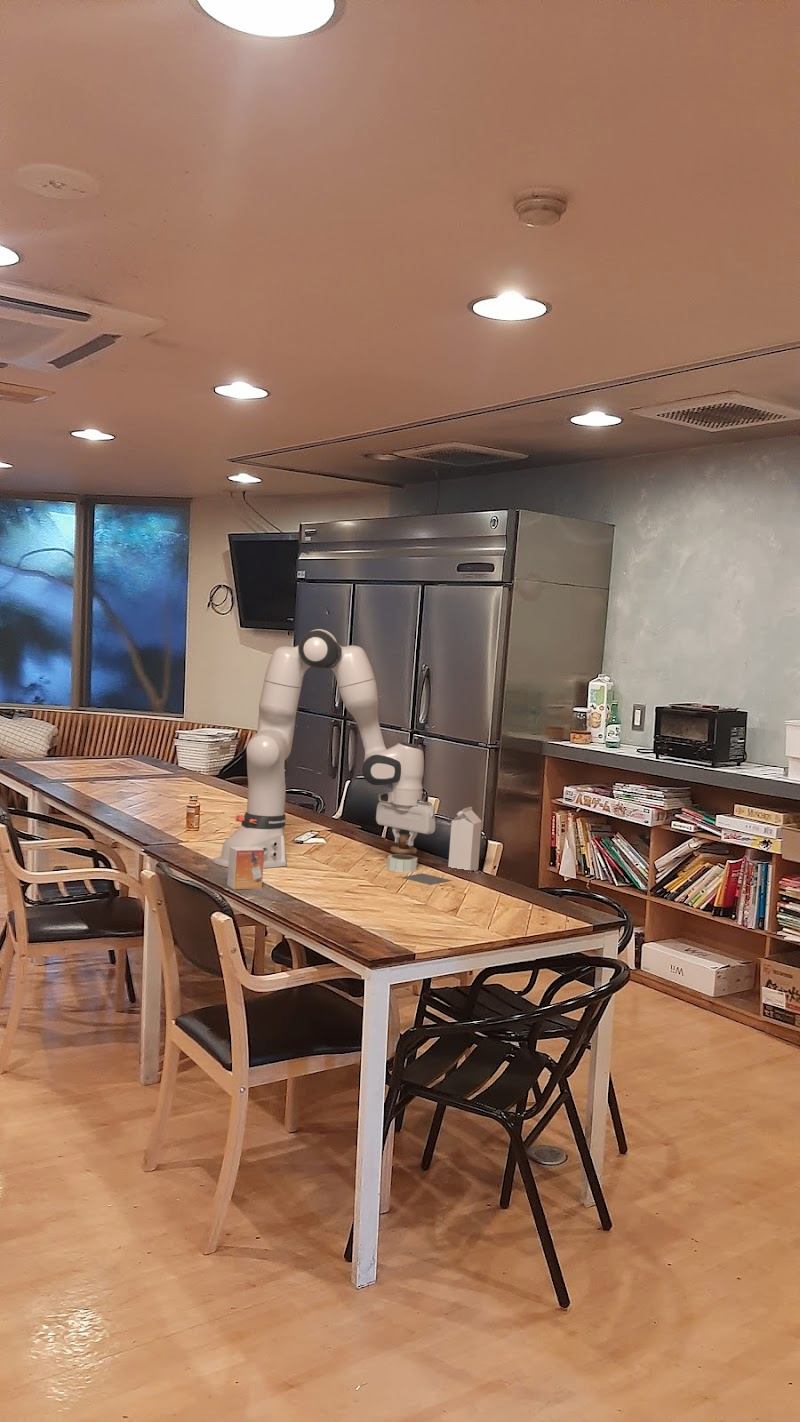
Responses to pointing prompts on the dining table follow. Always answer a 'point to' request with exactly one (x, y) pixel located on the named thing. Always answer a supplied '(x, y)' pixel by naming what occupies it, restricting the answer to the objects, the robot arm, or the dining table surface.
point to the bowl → (402, 863)
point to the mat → (426, 879)
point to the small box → (245, 867)
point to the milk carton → (465, 840)
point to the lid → (403, 846)
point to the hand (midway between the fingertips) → (403, 844)
